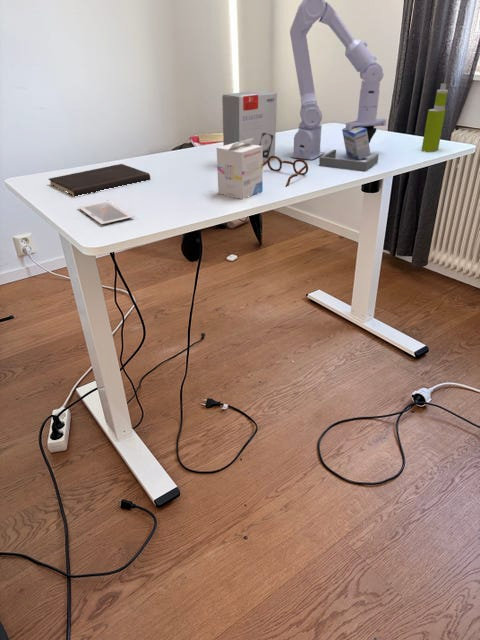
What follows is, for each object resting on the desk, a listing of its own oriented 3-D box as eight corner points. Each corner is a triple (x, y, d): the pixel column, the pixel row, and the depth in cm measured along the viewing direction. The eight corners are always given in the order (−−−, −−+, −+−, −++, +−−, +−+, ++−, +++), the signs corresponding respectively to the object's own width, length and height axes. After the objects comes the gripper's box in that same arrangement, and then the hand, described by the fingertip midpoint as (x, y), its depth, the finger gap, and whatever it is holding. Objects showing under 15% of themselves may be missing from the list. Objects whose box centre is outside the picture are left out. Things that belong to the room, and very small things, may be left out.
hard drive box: (238, 168, 147) (237, 96, 137) (222, 164, 152) (220, 94, 142) (276, 160, 155) (277, 91, 145) (260, 156, 160) (260, 89, 150)
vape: (440, 149, 163) (452, 83, 153) (429, 152, 160) (441, 85, 150) (430, 147, 166) (442, 83, 155) (419, 150, 163) (430, 84, 152)
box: (365, 171, 142) (366, 162, 140) (319, 165, 148) (319, 157, 147) (377, 162, 150) (378, 154, 149) (333, 157, 157) (333, 149, 155)
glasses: (308, 177, 140) (309, 159, 137) (286, 188, 130) (287, 170, 128) (268, 171, 146) (268, 154, 143) (245, 182, 137) (245, 164, 134)
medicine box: (346, 155, 159) (341, 129, 154) (358, 149, 160) (353, 123, 155) (359, 160, 153) (354, 133, 148) (371, 154, 153) (366, 127, 148)
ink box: (238, 186, 132) (237, 134, 125) (263, 191, 127) (263, 138, 120) (217, 194, 126) (215, 139, 119) (242, 200, 121) (241, 144, 114)
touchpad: (108, 204, 122) (107, 196, 120) (134, 221, 111) (133, 211, 110) (78, 211, 118) (76, 202, 117) (102, 228, 107) (100, 219, 106)
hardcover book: (50, 186, 136) (48, 178, 135) (122, 171, 149) (121, 163, 148) (75, 199, 126) (73, 190, 125) (150, 181, 139) (150, 173, 137)
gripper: (378, 102, 156) (372, 146, 164) (341, 106, 151) (337, 151, 158) (393, 105, 151) (387, 150, 158) (355, 109, 146) (351, 155, 153)
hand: (363, 151), depth 158 cm, fingers closed
